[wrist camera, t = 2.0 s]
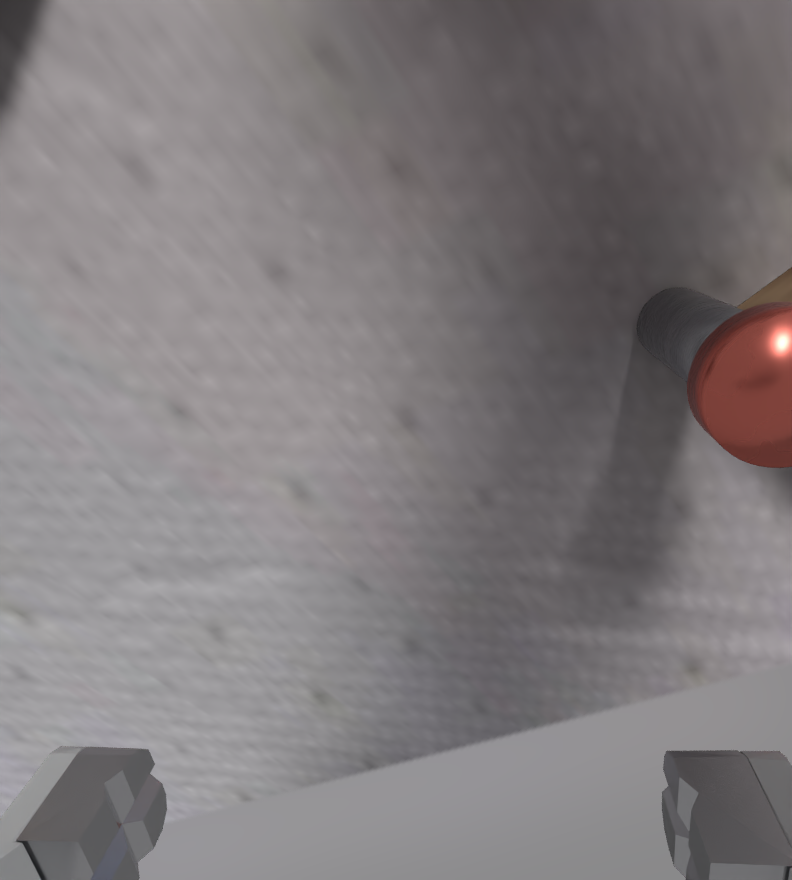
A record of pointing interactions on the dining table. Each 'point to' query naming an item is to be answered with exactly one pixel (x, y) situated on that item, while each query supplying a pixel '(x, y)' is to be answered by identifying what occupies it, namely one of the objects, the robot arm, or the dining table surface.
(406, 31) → the dining table surface
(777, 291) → the socket block
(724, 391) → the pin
